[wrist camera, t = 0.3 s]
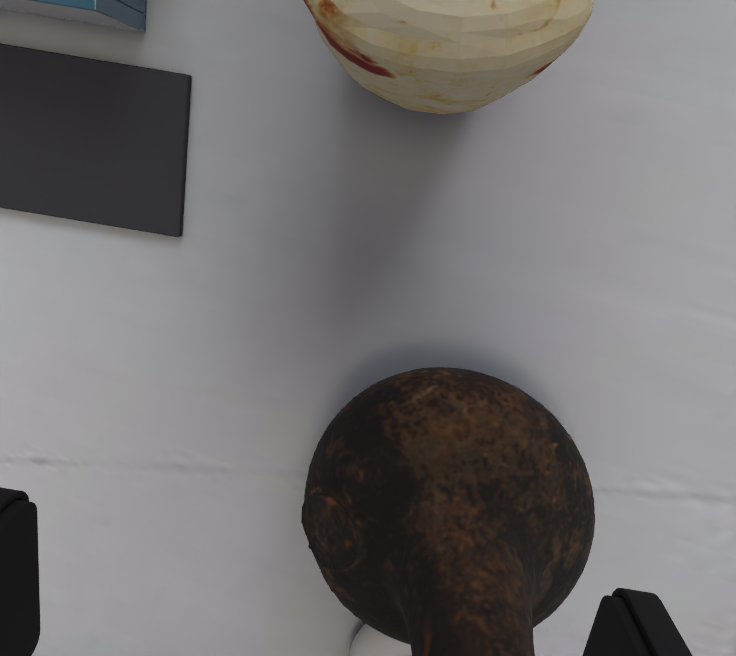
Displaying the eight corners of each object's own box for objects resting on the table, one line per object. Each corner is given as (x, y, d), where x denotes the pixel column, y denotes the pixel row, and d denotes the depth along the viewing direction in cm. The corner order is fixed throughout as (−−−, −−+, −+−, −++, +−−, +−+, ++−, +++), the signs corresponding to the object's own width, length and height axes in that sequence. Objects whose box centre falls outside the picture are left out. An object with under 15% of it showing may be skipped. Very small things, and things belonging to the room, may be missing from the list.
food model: (337, 108, 36) (269, 67, 17) (350, -13, 34) (289, -211, 15) (494, 129, 36) (600, 112, 17) (517, 9, 34) (665, -162, 15)
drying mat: (-127, 23, 36) (-136, 21, 36) (191, 75, 36) (188, 74, 36) (-112, 186, 39) (-120, 187, 39) (182, 236, 39) (178, 237, 39)
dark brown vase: (341, 317, 40) (223, 659, 14) (595, 368, 40) (975, 805, 14) (302, 532, 46) (162, 1078, 19) (526, 576, 46) (701, 1180, 19)
